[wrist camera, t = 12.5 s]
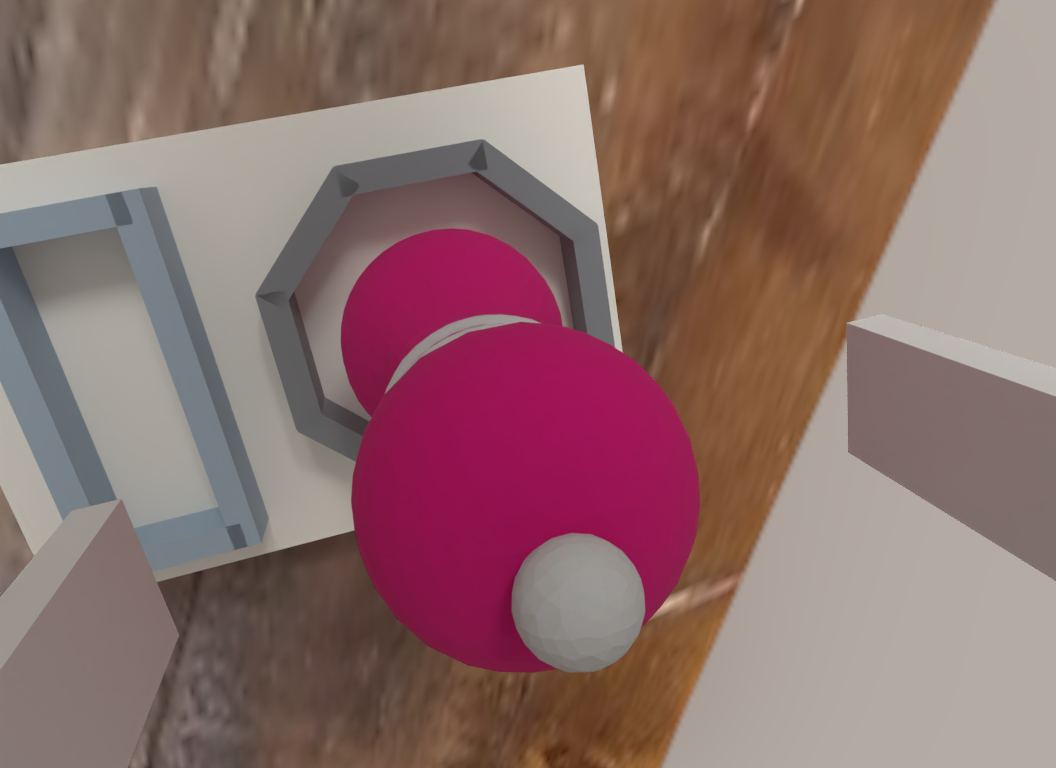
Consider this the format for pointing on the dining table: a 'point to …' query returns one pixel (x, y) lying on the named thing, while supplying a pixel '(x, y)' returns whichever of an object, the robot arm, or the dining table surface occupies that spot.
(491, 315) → the pepper mill
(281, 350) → the holder board
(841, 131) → the dining table surface
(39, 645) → the robot arm
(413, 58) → the dining table surface
